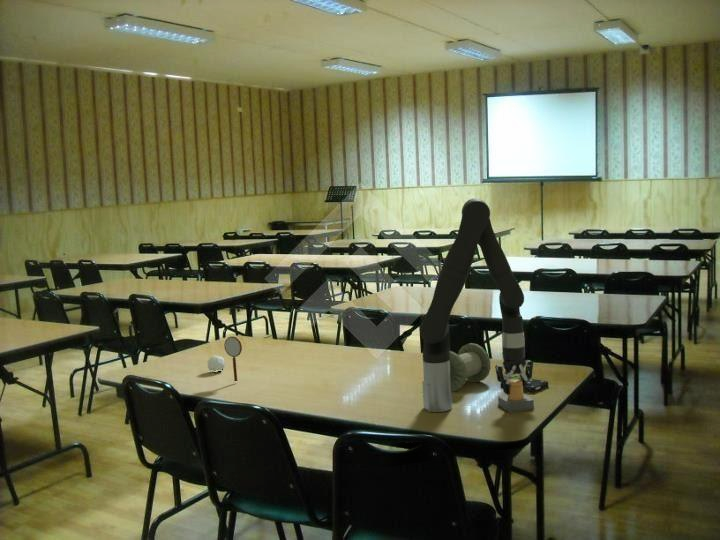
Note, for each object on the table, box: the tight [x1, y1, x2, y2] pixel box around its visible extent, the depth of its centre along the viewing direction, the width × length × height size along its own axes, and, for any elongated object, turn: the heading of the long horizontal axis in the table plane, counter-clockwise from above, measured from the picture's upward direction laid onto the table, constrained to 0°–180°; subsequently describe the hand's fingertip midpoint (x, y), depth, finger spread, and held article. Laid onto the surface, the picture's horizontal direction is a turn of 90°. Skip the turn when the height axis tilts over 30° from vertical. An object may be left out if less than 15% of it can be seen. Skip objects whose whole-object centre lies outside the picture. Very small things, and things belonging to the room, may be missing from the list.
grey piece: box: [497, 393, 535, 413], centre depth 257 cm, size 9×9×7 cm
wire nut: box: [508, 379, 524, 400], centre depth 257 cm, size 5×5×6 cm
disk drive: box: [499, 375, 549, 394], centre depth 280 cm, size 10×3×15 cm
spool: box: [449, 342, 491, 392], centre depth 287 cm, size 16×15×15 cm
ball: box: [207, 355, 226, 371], centre depth 333 cm, size 8×8×8 cm
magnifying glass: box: [224, 336, 243, 382], centre depth 311 cm, size 9×2×20 cm, turn 62°
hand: (515, 392), depth 257 cm, fingers open, 6 cm apart
